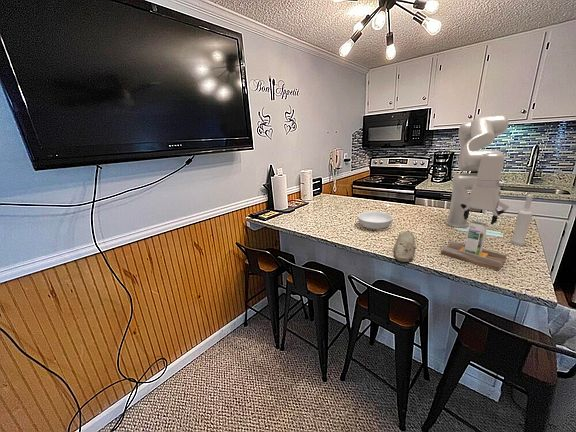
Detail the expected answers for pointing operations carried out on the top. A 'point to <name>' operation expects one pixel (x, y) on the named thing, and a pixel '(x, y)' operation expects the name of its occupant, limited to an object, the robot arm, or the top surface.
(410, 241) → the elongated rock
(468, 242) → the syrup box
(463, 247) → the orange rectangular panel
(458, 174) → the robot arm
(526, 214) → the bottle
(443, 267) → the top surface
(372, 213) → the serving bowl
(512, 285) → the top surface
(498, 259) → the wooden tray
